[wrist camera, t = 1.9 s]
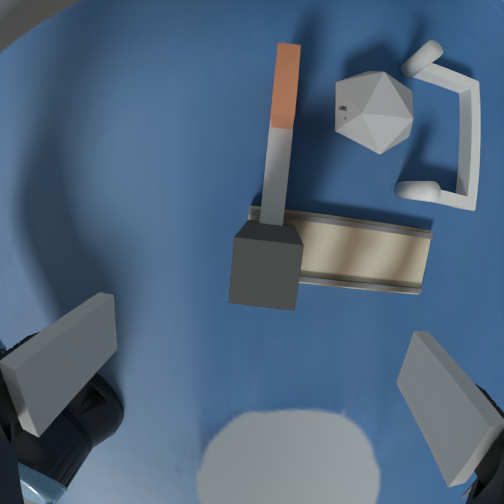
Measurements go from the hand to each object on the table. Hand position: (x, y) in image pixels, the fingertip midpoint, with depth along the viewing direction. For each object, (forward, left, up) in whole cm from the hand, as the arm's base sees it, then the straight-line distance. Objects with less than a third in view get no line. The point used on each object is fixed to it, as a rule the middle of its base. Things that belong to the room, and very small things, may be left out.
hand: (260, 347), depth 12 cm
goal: (+19, +16, -24) cm, 35 cm away
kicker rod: (0, +8, -24) cm, 25 cm away
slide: (+8, 0, -24) cm, 26 cm away
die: (+9, +16, -24) cm, 31 cm away
